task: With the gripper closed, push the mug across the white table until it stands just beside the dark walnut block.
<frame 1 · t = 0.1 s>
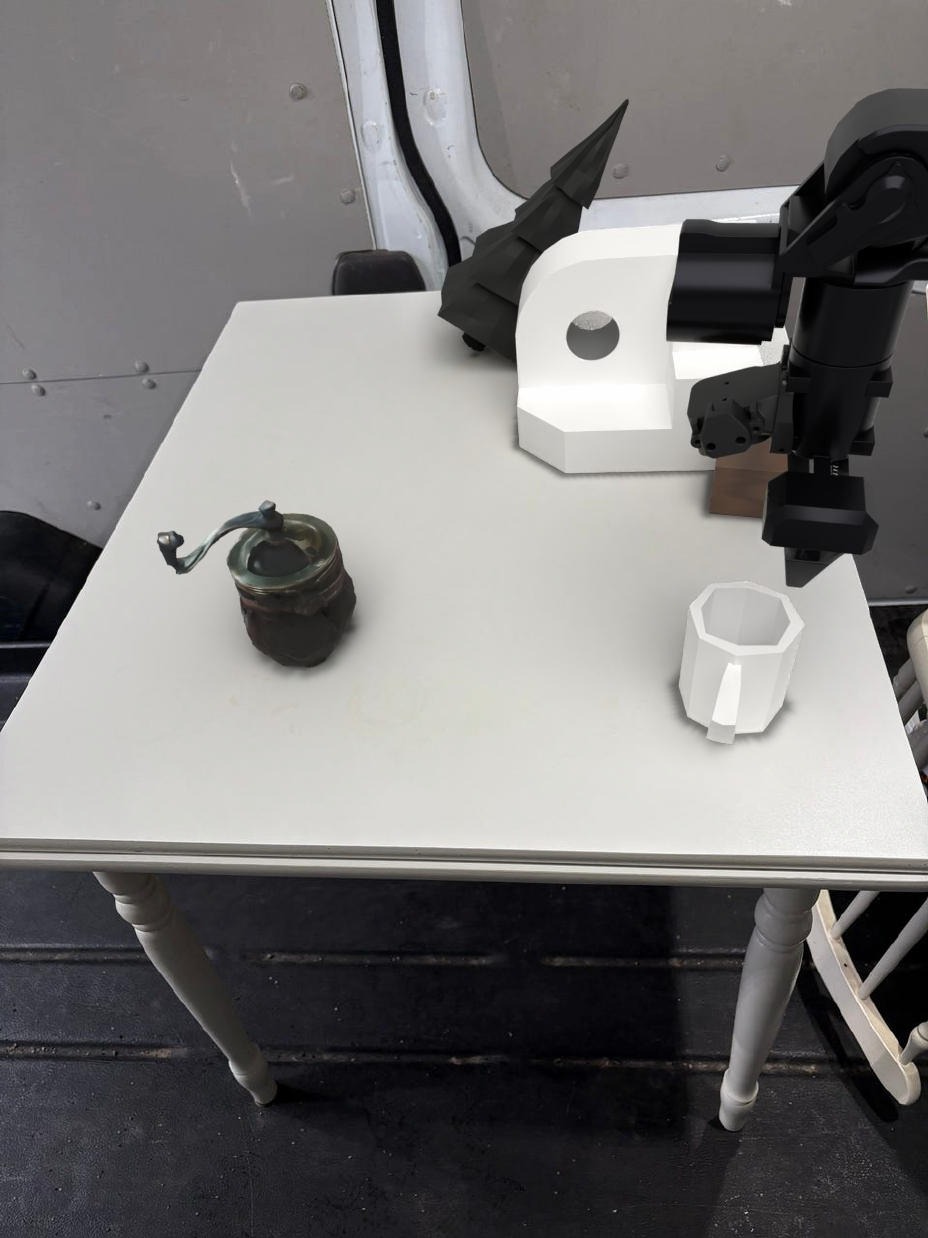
hand: (794, 542, 61), 16 cm above the table, tool pointing down, fingers open, 9 cm apart
decorative tree: (533, 347, 117), on the table
walnut block: (745, 495, 90), on the table
coffee grinder: (297, 650, 81), on the table
stepped bracket block: (628, 430, 101), on the table
mug: (726, 715, 70), on the table
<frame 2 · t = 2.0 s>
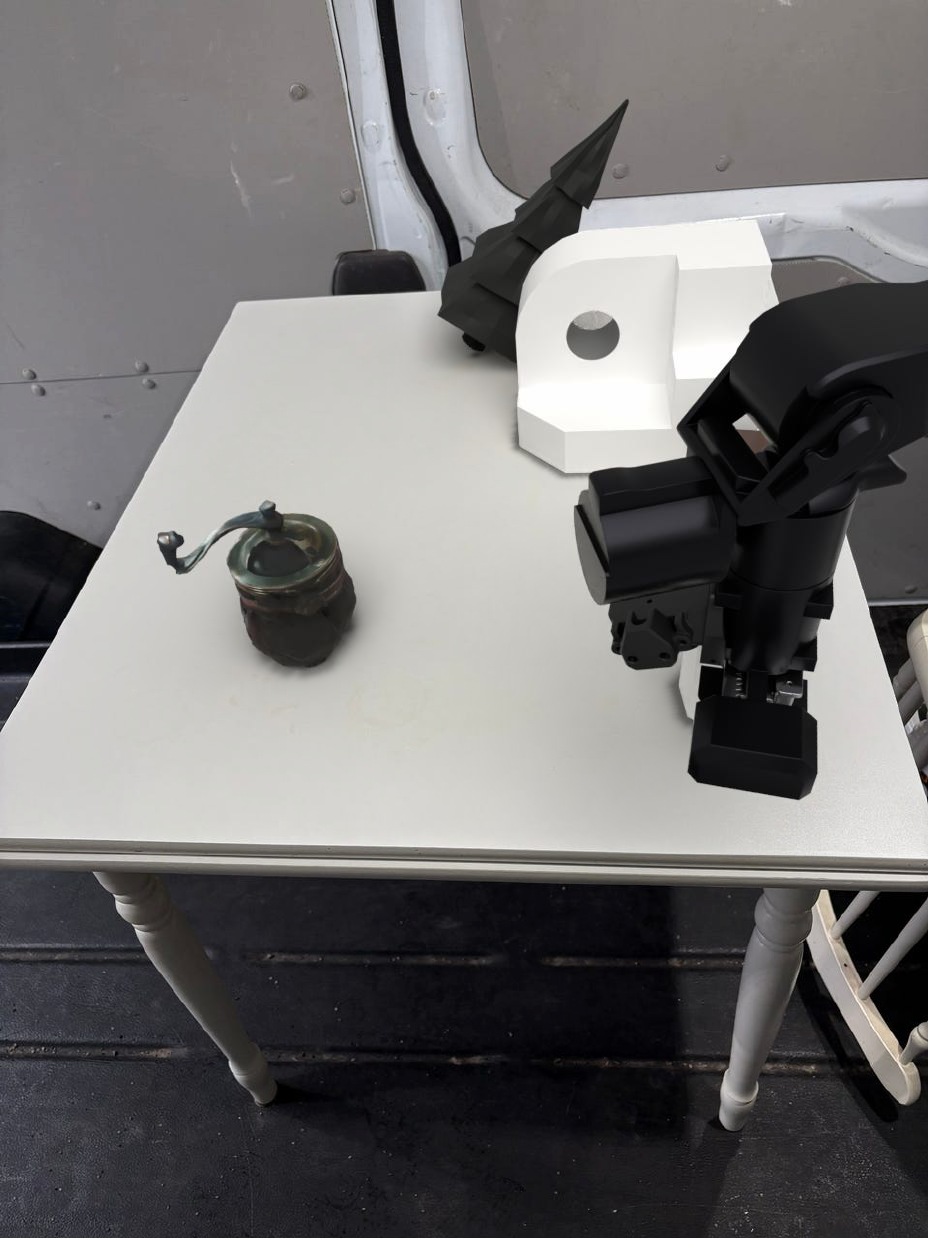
hand: (738, 732, 55), 12 cm above the table, tool pointing down, fingers closed
nothing on the table moved.
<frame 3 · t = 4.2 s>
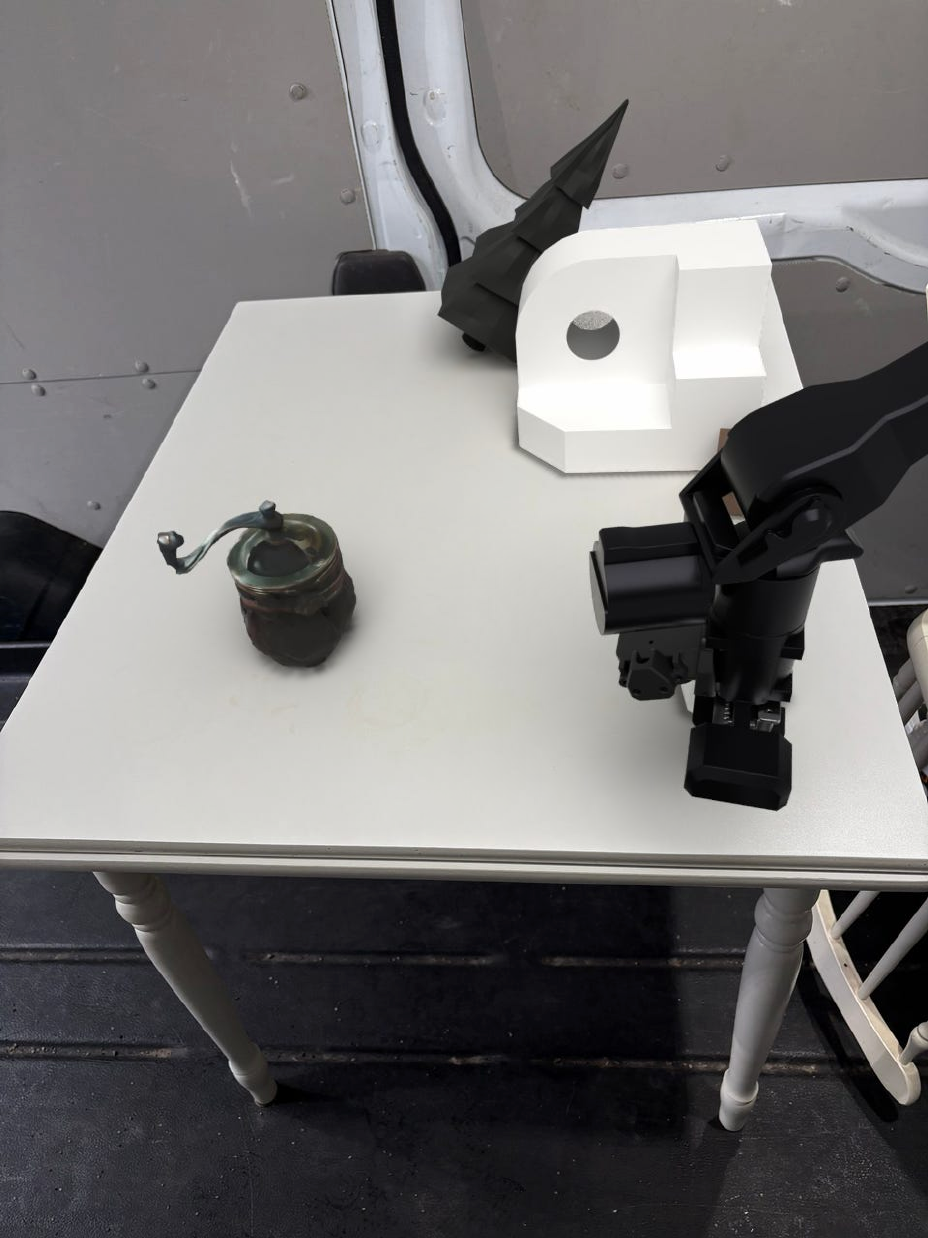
hand: (727, 751, 63), 4 cm above the table, tool pointing down, fingers closed
mug: (726, 708, 71), on the table, touching gripper
everything else where it was.
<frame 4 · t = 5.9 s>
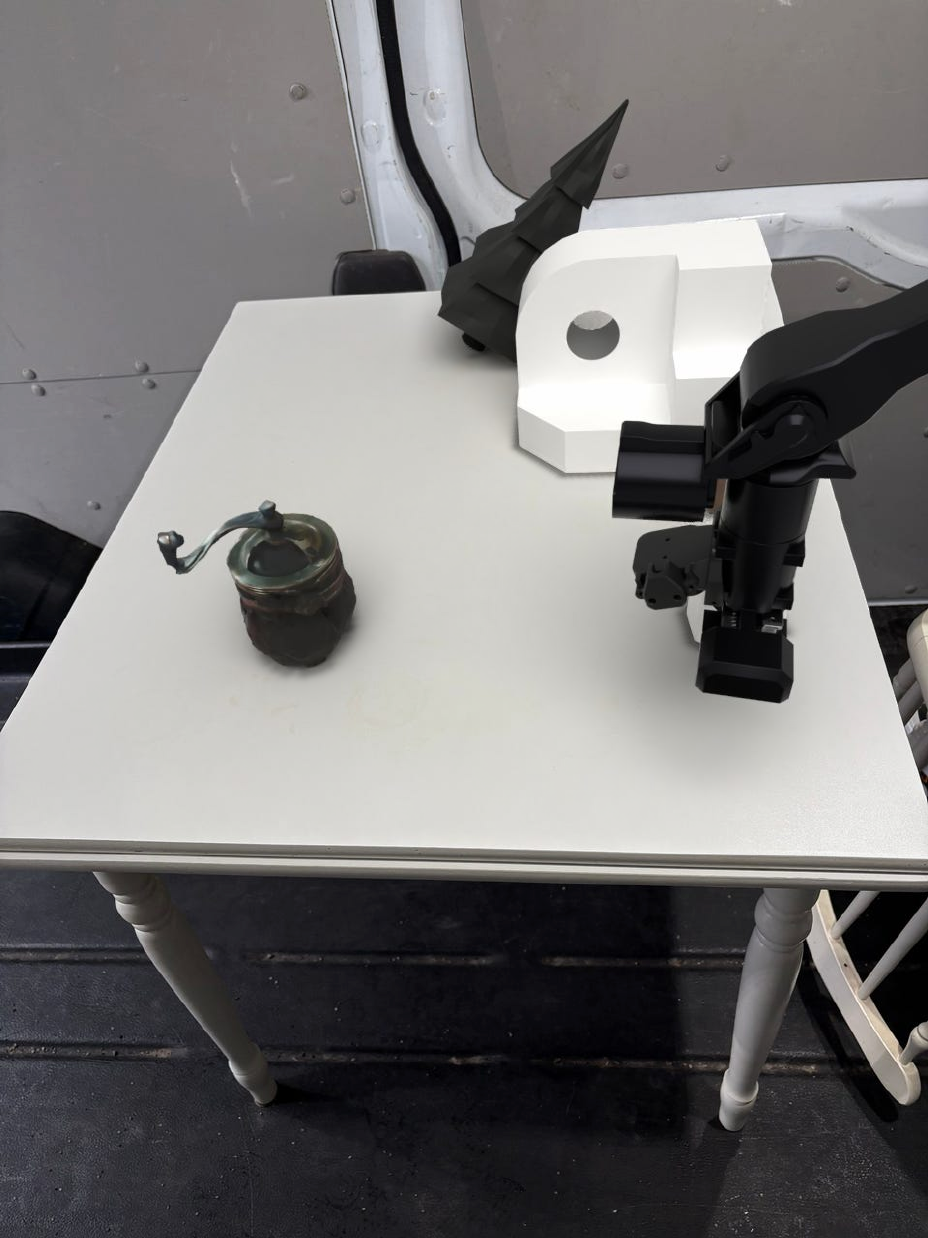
hand: (732, 668, 68), 4 cm above the table, tool pointing down, fingers closed
mug: (730, 639, 76), on the table, touching gripper
everything else where it was.
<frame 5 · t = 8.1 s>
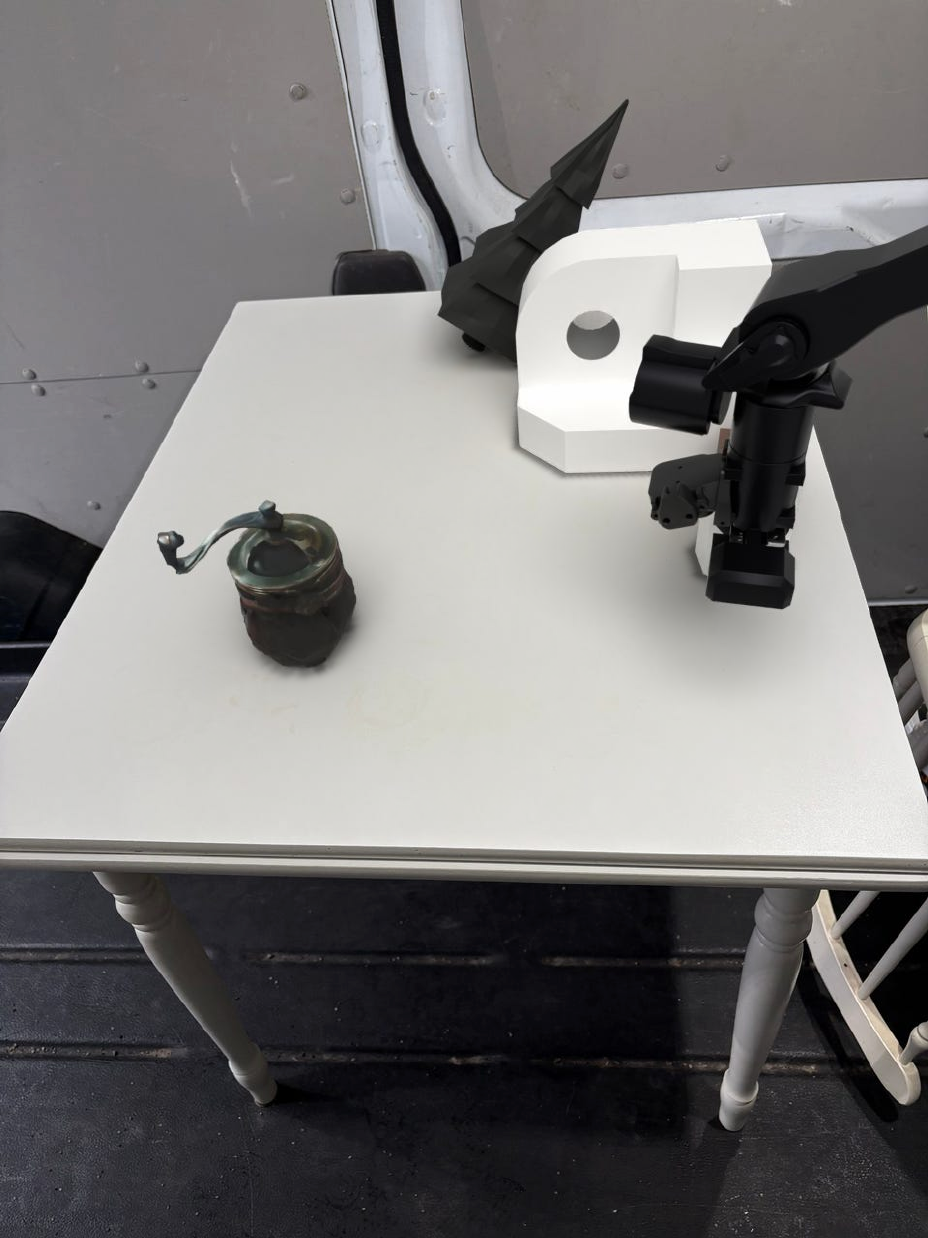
hand: (739, 591, 74), 4 cm above the table, tool pointing down, fingers closed
mug: (736, 572, 82), on the table, touching gripper
everything else where it was.
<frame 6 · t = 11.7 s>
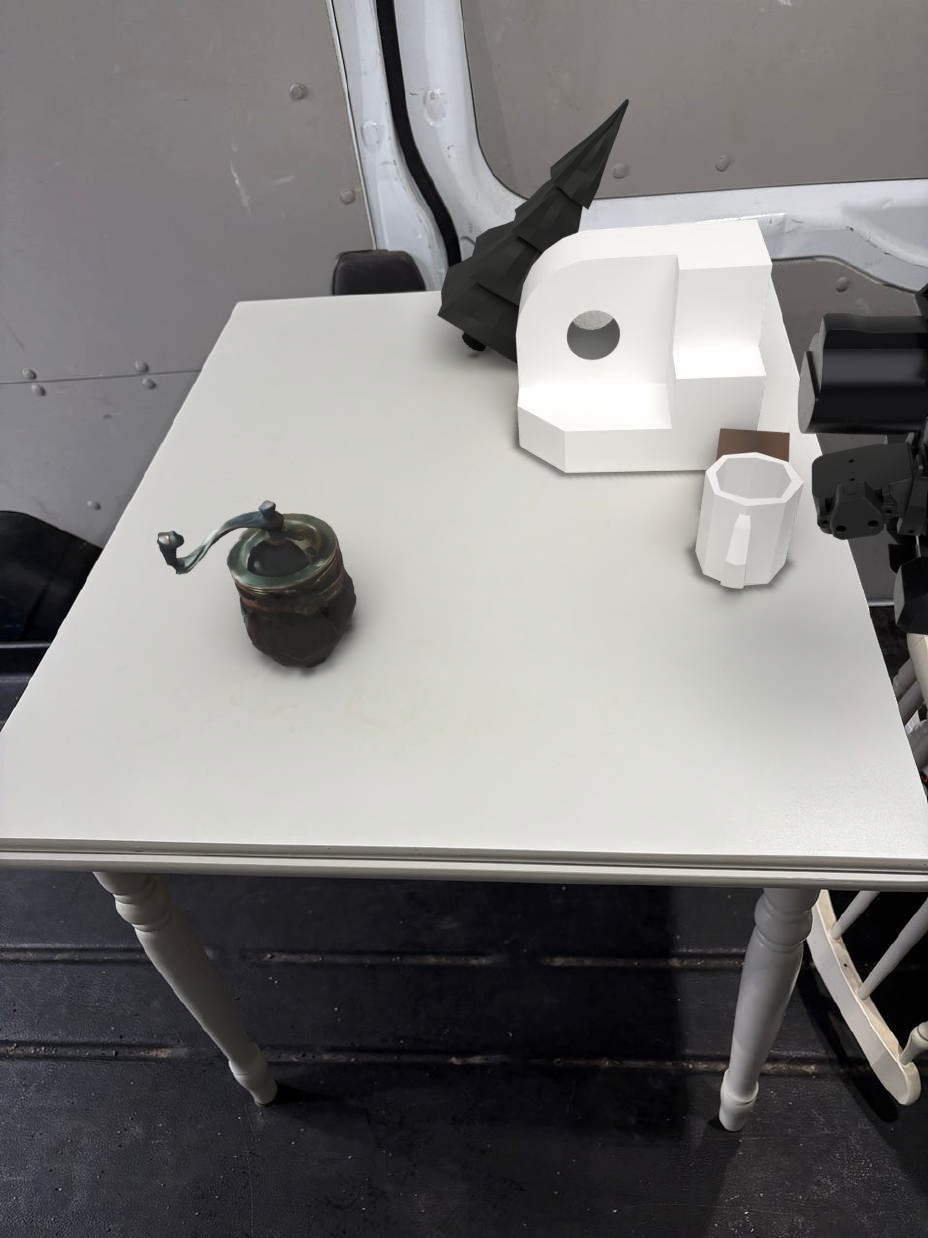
hand: (907, 614, 60), 12 cm above the table, tool pointing down, fingers closed
mug: (736, 572, 82), on the table
everything else where it was.
at the end: mug inside the target area on the table beside the walnut block (1.1 cm from its centre), on the table; mug tilted 0°; mug moved 17.9 cm from its start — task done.
